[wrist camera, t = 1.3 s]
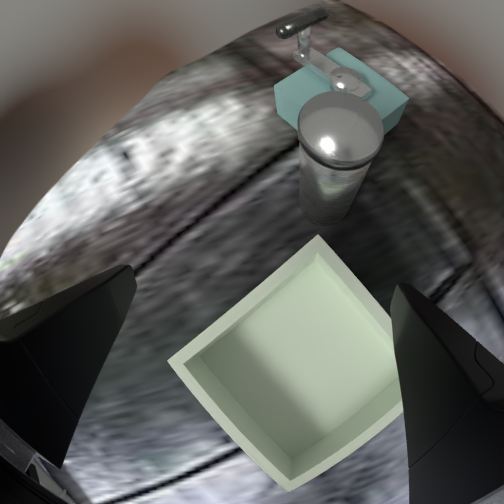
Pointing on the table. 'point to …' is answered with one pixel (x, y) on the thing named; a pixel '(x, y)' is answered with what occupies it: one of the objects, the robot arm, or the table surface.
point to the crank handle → (317, 62)
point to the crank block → (310, 84)
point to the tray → (298, 368)
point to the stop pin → (335, 153)
